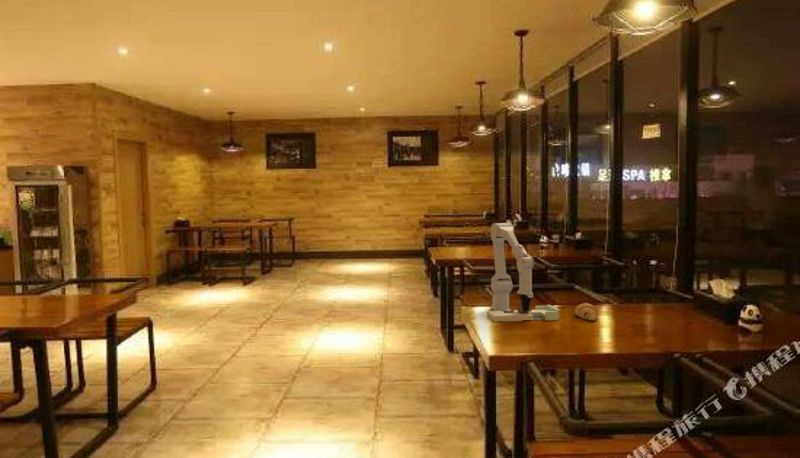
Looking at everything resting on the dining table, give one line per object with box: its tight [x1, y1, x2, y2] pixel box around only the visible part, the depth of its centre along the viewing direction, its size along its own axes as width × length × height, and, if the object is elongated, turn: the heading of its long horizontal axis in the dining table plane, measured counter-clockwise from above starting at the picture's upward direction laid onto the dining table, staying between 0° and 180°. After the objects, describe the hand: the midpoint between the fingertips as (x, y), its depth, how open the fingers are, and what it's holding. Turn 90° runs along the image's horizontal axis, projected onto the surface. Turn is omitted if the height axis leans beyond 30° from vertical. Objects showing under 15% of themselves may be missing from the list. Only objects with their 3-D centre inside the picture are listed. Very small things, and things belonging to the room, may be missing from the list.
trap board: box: [486, 304, 560, 323], centre depth 279 cm, size 14×31×5 cm, turn 98°
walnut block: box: [516, 300, 532, 312], centre depth 279 cm, size 5×5×5 cm
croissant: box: [574, 302, 598, 321], centre depth 281 cm, size 21×10×8 cm, turn 1°
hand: (525, 310), depth 276 cm, fingers closed, pressing on walnut block
